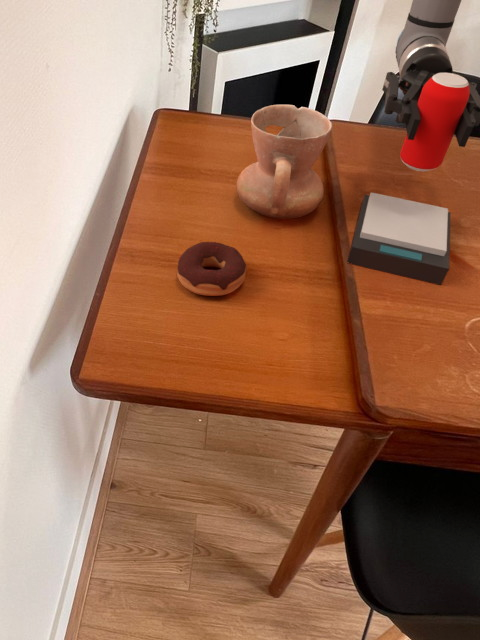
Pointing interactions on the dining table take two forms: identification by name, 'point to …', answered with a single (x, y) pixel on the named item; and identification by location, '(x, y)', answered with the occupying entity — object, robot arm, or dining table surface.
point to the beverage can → (436, 121)
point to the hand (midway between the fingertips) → (440, 133)
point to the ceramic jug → (285, 162)
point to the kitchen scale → (402, 238)
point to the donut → (211, 280)
